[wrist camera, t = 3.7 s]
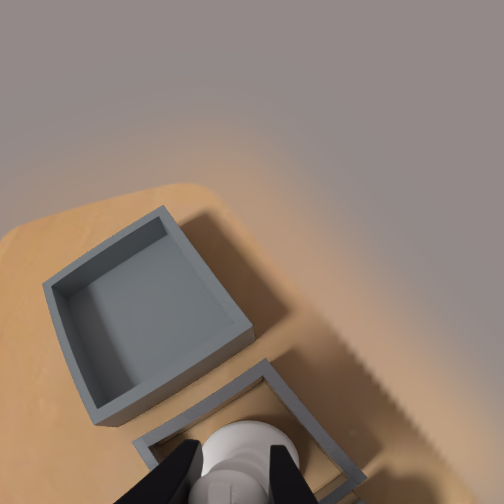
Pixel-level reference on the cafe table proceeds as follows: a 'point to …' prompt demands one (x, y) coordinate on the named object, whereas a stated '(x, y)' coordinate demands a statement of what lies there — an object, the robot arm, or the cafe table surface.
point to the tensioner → (266, 372)
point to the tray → (142, 319)
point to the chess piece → (238, 464)
